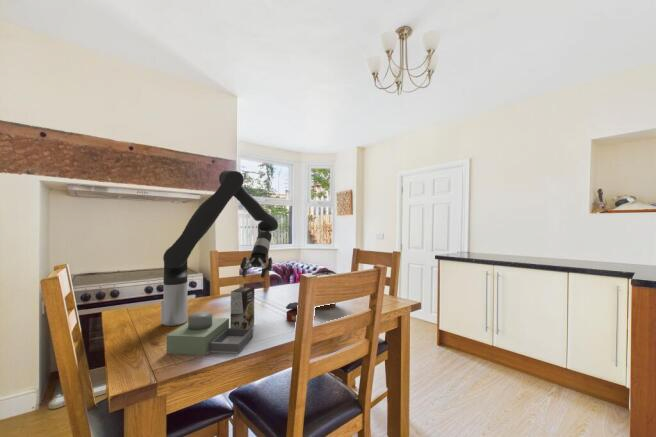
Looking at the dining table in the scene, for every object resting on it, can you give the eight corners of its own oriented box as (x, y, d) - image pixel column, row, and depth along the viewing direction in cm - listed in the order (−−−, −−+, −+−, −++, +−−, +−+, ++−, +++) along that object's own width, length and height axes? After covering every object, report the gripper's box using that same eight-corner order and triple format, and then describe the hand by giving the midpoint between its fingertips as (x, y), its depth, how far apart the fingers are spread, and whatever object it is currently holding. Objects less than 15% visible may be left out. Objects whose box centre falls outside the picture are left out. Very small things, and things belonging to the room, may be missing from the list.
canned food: (286, 330, 127) (277, 309, 129) (300, 321, 136) (291, 301, 138) (302, 323, 121) (293, 301, 123) (316, 314, 130) (307, 294, 132)
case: (313, 314, 134) (314, 276, 134) (300, 303, 152) (300, 270, 153) (347, 310, 141) (347, 274, 141) (330, 300, 159) (331, 268, 160)
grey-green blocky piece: (166, 353, 95) (166, 323, 95) (196, 332, 113) (196, 307, 113) (235, 356, 93) (236, 325, 93) (254, 334, 111) (254, 308, 111)
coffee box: (244, 333, 112) (244, 292, 112) (229, 331, 114) (229, 291, 114) (255, 324, 121) (255, 286, 121) (241, 323, 123) (241, 286, 123)
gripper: (245, 244, 139) (235, 272, 127) (273, 244, 138) (266, 272, 126) (249, 254, 144) (240, 281, 133) (276, 254, 143) (269, 281, 131)
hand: (252, 277), depth 129 cm, fingers open, 8 cm apart
